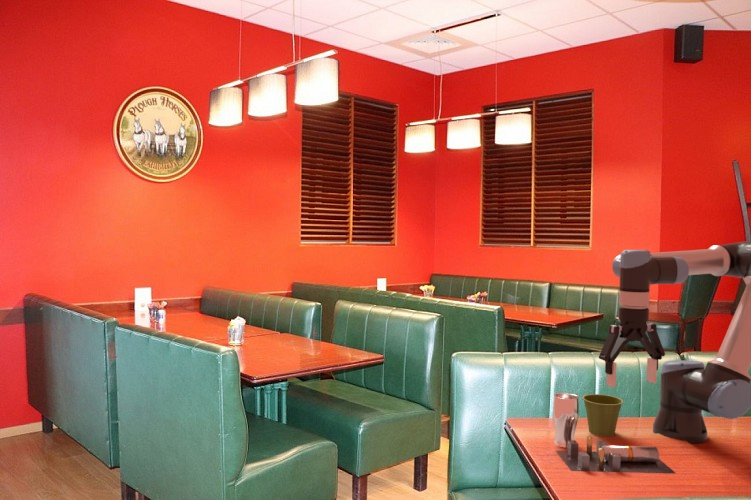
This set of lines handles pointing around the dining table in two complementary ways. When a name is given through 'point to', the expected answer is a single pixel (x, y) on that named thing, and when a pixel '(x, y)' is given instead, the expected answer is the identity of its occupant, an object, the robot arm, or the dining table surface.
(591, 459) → the steam engine
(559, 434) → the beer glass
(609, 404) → the plant pot
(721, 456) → the dining table surface
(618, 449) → the tube
